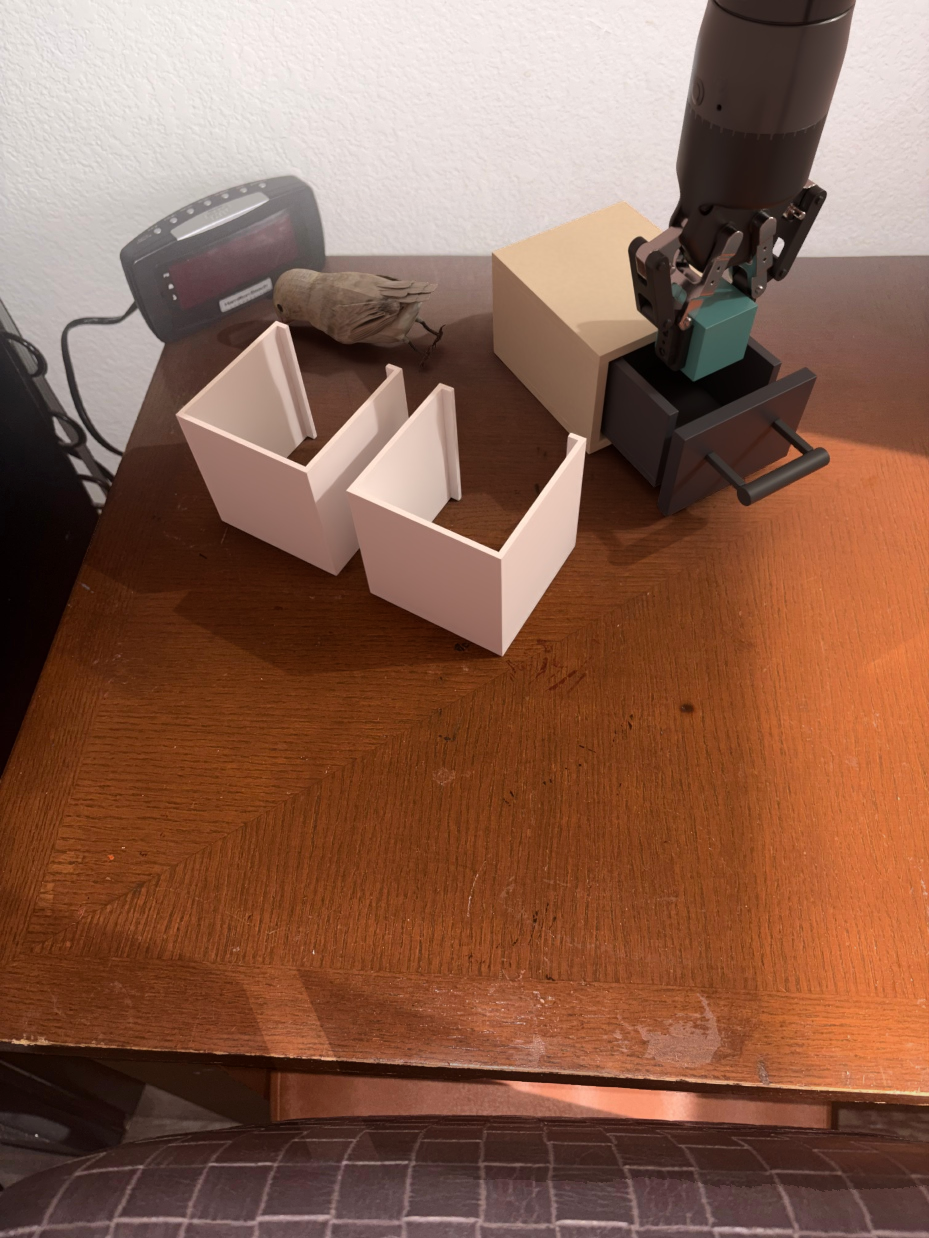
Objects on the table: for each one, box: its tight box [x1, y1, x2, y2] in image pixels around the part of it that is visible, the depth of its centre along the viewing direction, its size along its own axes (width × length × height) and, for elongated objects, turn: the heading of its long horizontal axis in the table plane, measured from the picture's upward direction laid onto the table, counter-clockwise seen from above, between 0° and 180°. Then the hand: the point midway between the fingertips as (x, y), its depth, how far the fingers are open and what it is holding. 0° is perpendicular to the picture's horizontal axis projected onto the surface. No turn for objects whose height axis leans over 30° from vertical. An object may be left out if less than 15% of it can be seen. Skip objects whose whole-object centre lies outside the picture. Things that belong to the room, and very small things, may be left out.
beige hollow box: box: [491, 200, 703, 455], centre depth 69 cm, size 15×13×10 cm
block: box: [655, 276, 759, 381], centre depth 58 cm, size 4×4×4 cm
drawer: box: [600, 335, 831, 518], centre depth 63 cm, size 18×12×8 cm, turn 30°
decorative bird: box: [272, 268, 446, 373], centre depth 74 cm, size 5×16×8 cm, turn 68°
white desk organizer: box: [175, 320, 586, 657], centre depth 60 cm, size 25×11×11 cm, turn 59°
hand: (699, 349), depth 60 cm, fingers closed on block, 4 cm apart
